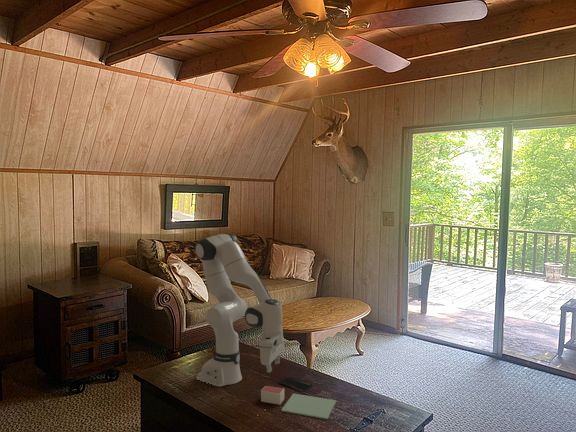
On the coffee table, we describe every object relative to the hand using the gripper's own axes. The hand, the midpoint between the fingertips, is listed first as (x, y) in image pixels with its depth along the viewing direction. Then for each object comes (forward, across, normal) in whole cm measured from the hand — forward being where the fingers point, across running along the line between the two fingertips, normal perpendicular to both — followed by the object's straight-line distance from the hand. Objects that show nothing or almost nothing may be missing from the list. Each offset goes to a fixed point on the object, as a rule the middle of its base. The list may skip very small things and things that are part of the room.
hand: (273, 367), depth 191 cm
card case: (+15, 0, 0) cm, 15 cm away
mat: (+15, 0, +16) cm, 22 cm away
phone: (+15, -18, +4) cm, 24 cm away
